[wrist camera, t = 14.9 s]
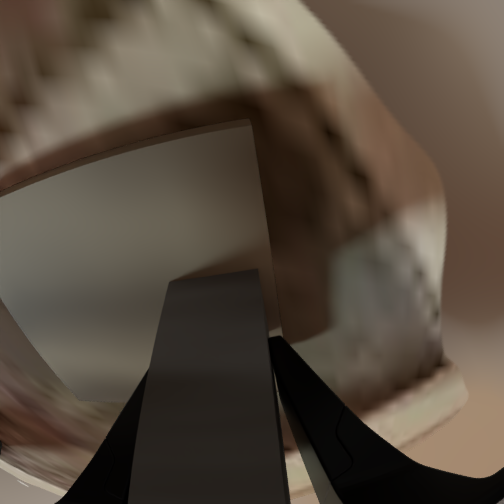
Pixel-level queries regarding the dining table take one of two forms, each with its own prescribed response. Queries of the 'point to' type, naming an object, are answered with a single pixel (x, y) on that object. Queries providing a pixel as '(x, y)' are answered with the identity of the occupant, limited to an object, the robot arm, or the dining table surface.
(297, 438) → the robot arm
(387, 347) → the dining table surface
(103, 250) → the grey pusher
